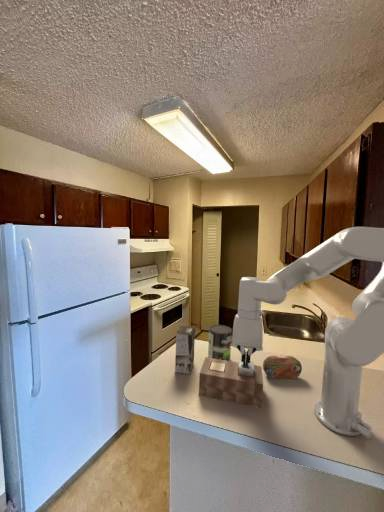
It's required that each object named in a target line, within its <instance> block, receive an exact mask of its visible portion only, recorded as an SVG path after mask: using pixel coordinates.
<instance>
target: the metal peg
mask: <svg viewBox="0 0 384 512" xmlns="http://www.w3.org/2000/svg"><path fill="white" fill-rule="evenodd" d="M238 363H239V370H238V375H239V376H245V377H251V378H253V374H254V365H255V363H254V361H251V360H250V363H248V367H247V366H246V360H245V366H243V362H241V359H239V360H238Z"/></svg>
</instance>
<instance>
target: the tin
mask: <svg viewBox="0 0 384 512" xmlns="http://www.w3.org/2000/svg"><path fill="white" fill-rule="evenodd" d="M302 368H303V366H302V364H301V362H300V361H299V360H298V358H296V357H294V356H291V355H270V356H267V357H266V358H265V359H264V361H263V363H262V371H264V374H265V375H266V377H267V378H269V379H271V380H294V379H296V378H298V377H299V376H300V375H301V373H302V371H303V369H302Z"/></svg>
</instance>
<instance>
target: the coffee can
mask: <svg viewBox="0 0 384 512" xmlns="http://www.w3.org/2000/svg"><path fill="white" fill-rule="evenodd" d="M232 334H233V328H231V327H229V326H228V325H223V324H214V325H213V324H212V325H210V326H209V328H208V348H207V349H208V350H207V352H208V353H207V357H208V358H214V359H220V360H226V361H231V353H232V352H231V350H232V349H231V348H232V346H231V342H232Z"/></svg>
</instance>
